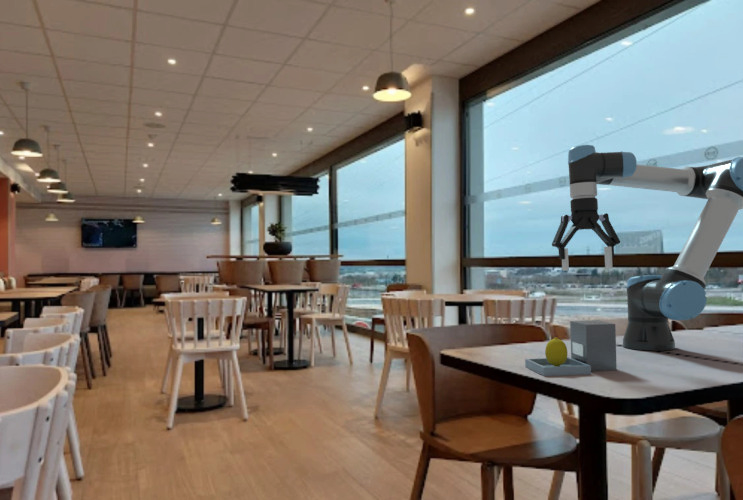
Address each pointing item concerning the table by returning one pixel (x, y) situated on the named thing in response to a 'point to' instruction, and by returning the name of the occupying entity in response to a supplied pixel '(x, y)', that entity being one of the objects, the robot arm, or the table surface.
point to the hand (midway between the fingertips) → (587, 269)
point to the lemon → (556, 352)
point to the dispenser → (594, 344)
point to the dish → (558, 367)
